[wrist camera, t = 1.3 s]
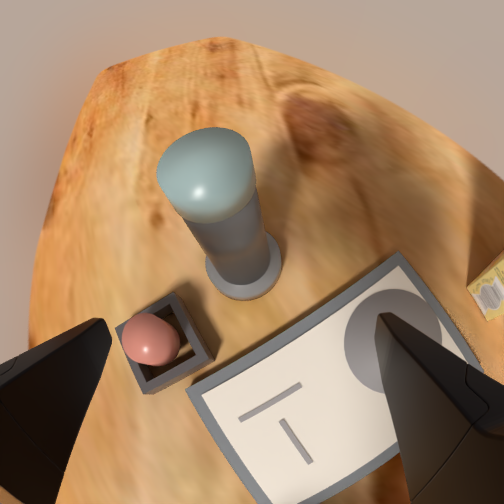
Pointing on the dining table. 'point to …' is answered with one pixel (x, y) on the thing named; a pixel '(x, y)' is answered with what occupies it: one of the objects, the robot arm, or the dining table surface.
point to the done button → (150, 340)
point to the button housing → (182, 370)
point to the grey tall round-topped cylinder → (222, 209)
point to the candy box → (490, 289)
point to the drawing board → (319, 392)
